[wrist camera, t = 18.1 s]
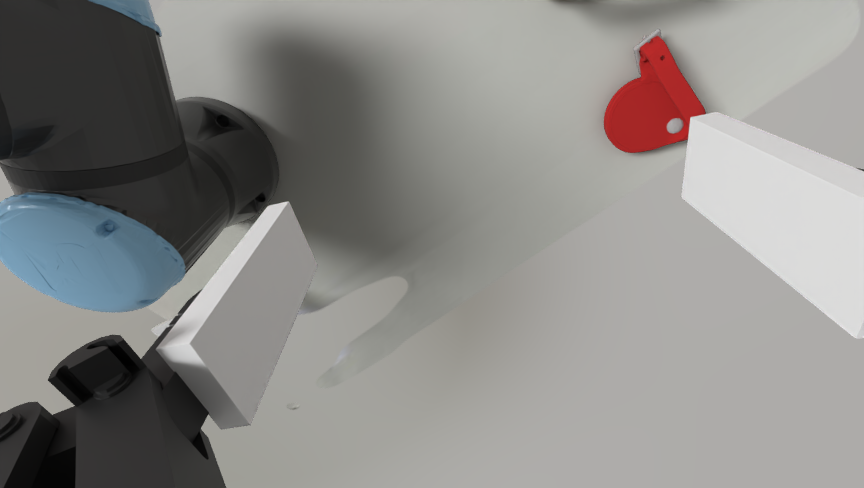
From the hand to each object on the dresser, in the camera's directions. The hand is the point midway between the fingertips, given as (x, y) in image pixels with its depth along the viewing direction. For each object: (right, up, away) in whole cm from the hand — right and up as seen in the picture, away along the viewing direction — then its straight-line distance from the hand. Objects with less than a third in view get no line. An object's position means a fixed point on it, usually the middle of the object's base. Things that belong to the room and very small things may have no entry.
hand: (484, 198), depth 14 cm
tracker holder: (+17, +15, +29) cm, 37 cm away
